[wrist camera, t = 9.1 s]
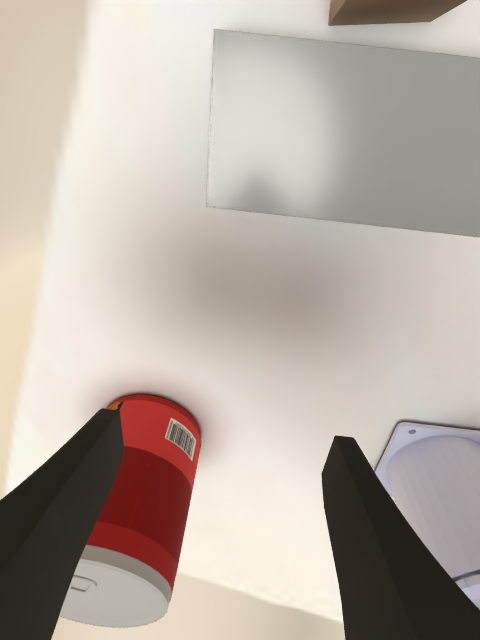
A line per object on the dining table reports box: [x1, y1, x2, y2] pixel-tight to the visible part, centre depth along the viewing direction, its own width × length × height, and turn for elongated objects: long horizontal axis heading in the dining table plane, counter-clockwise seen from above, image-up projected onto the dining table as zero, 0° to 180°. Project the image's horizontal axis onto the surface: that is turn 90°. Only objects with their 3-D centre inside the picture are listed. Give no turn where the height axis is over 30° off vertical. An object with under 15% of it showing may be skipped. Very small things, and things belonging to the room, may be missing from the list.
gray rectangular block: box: [206, 29, 480, 237], centre depth 15 cm, size 12×6×3 cm, turn 85°
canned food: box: [59, 394, 201, 628], centre depth 22 cm, size 8×8×11 cm
